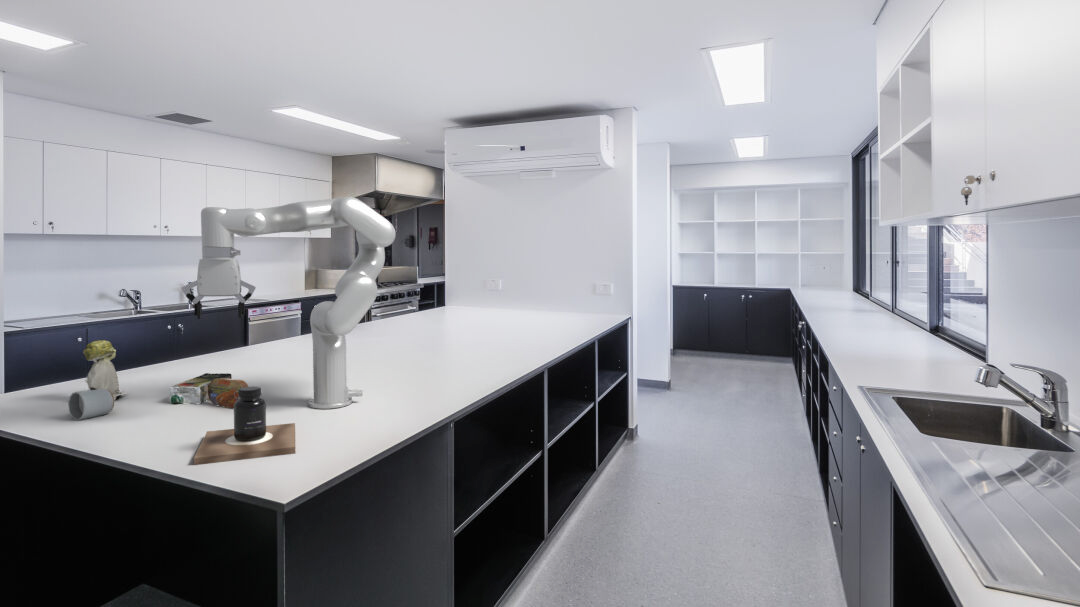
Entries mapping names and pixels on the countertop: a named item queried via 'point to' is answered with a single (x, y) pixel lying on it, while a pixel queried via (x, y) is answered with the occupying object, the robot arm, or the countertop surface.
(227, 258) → the robot arm
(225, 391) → the tin
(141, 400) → the countertop surface
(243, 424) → the supplement bottle
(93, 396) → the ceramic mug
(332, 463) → the countertop surface
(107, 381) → the beige figurine with hat
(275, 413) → the countertop surface
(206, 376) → the juice carton
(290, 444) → the walnut board
